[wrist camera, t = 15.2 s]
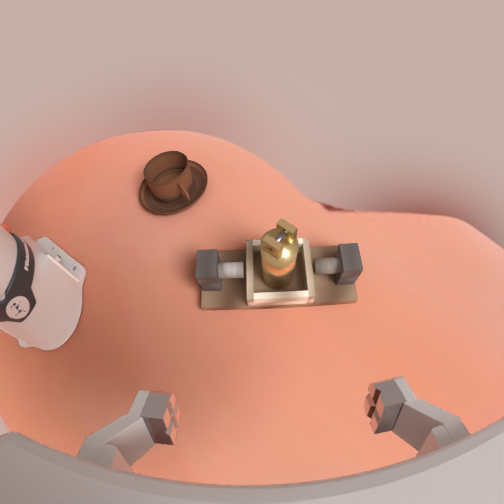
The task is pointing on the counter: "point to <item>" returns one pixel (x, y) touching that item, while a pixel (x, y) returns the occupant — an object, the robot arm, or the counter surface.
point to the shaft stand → (295, 295)
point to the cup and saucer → (171, 183)
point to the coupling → (279, 255)
